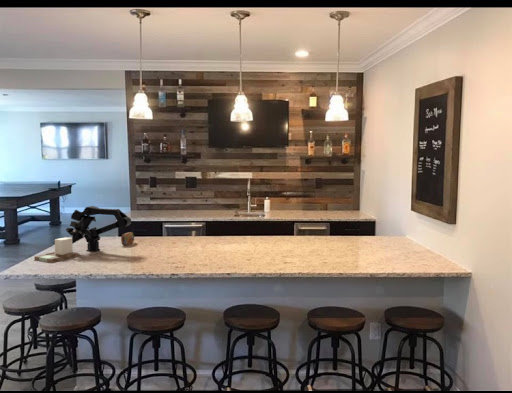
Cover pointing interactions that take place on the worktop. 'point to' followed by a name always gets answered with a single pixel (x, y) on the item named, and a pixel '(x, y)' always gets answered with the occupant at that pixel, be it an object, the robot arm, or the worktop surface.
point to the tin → (127, 238)
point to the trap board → (57, 256)
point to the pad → (45, 258)
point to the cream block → (63, 246)
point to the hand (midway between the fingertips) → (71, 243)
